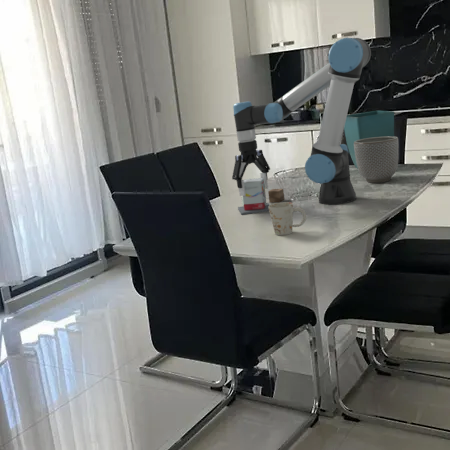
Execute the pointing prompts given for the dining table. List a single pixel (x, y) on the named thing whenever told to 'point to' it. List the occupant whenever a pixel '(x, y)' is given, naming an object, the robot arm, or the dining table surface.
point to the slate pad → (253, 210)
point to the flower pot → (367, 127)
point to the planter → (377, 158)
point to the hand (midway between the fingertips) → (254, 192)
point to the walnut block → (276, 195)
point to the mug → (284, 217)
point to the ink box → (254, 194)
